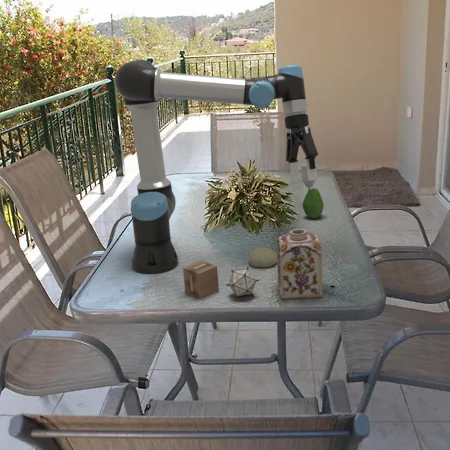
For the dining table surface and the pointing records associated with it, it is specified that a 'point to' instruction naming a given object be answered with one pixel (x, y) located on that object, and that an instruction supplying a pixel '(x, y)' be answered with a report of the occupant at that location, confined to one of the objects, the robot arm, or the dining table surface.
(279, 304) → the dining table surface
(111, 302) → the dining table surface
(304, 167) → the chalice
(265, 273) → the dining table surface
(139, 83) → the robot arm
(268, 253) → the sea urchin shell
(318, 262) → the decorative jar
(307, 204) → the avocado
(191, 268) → the marked walnut block
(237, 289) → the game die
